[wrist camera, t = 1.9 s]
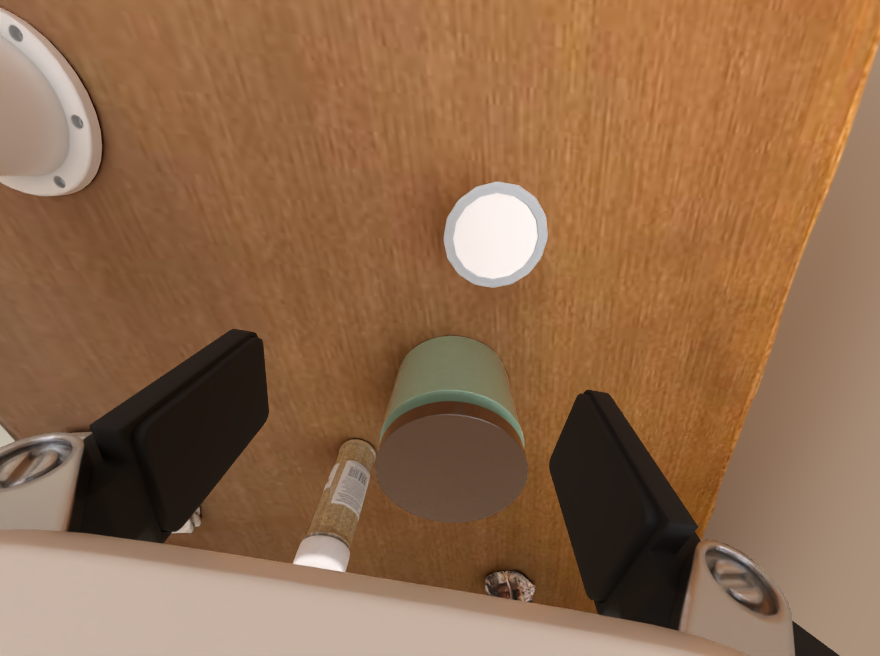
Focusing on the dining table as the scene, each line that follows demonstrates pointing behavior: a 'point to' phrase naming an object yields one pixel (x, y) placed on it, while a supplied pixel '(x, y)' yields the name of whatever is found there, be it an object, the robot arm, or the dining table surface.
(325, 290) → the dining table surface
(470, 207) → the white tapered cup
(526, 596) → the plant with pod
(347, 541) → the sprinkles bottle
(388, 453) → the jar
